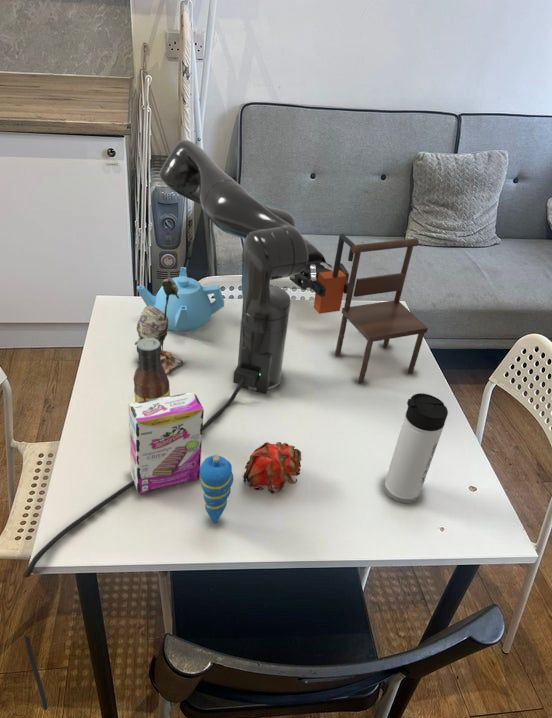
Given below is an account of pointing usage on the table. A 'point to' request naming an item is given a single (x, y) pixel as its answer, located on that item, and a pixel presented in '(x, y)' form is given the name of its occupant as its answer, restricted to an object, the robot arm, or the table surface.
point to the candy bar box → (165, 441)
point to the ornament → (216, 485)
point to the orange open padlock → (333, 282)
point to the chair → (380, 306)
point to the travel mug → (415, 447)
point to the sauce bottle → (150, 372)
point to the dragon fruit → (272, 466)
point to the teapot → (185, 303)
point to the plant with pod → (159, 326)
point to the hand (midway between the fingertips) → (335, 291)
